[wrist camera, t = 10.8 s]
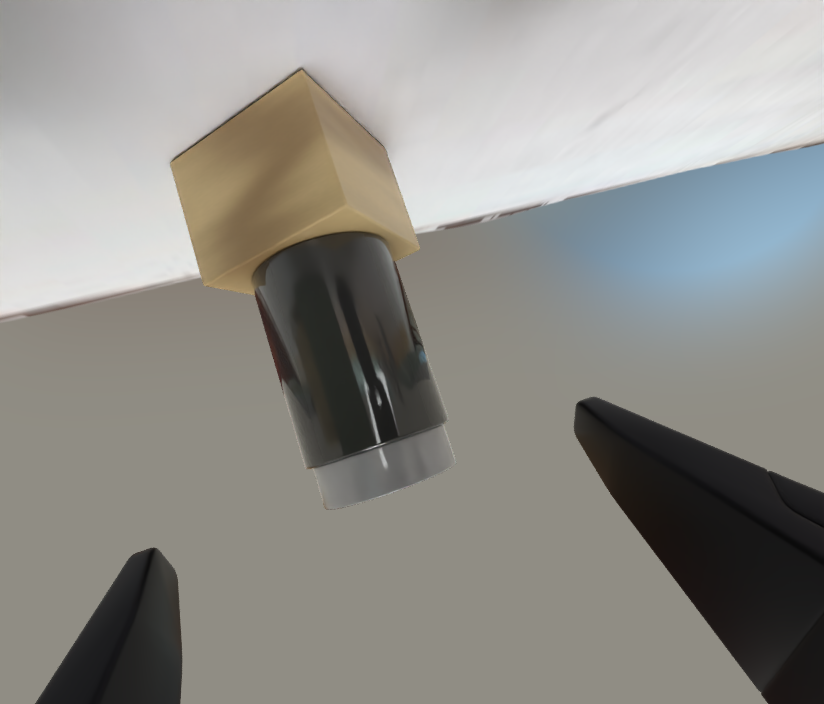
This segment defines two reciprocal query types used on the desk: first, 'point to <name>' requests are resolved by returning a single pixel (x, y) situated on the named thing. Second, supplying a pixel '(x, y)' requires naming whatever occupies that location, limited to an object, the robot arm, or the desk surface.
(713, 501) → the robot arm
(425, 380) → the pepper shaker
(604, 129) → the desk surface
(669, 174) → the desk surface
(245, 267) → the maple block
